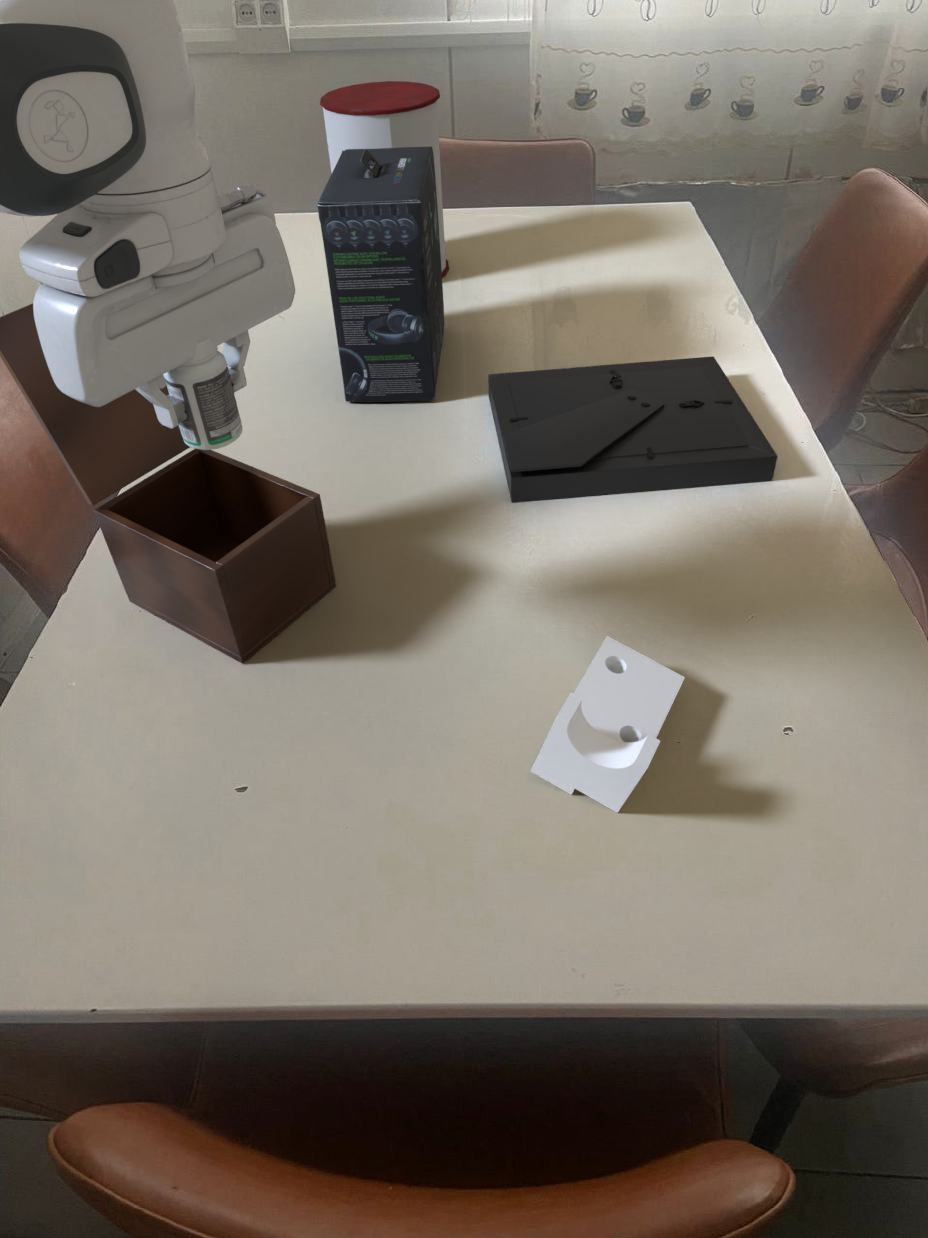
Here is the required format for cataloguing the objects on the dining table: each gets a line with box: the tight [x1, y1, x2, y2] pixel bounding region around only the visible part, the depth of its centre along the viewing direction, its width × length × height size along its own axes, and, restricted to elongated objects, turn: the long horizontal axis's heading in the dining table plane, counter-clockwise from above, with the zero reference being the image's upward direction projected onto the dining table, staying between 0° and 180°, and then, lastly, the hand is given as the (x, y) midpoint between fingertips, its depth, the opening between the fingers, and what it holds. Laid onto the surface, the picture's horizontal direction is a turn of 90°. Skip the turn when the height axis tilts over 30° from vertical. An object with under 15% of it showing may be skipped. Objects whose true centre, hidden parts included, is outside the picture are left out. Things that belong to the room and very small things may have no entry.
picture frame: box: [487, 355, 779, 503], centre depth 103 cm, size 23×4×28 cm
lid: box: [0, 302, 191, 507], centre depth 78 cm, size 16×13×1 cm
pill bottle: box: [163, 338, 243, 451], centre depth 68 cm, size 5×5×8 cm
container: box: [319, 80, 450, 278], centre depth 136 cm, size 17×17×25 cm
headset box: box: [316, 146, 445, 403], centre depth 111 cm, size 22×12×26 cm, turn 178°
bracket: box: [530, 635, 686, 814], centre depth 68 cm, size 13×7×8 cm, turn 152°
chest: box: [93, 448, 337, 664], centre depth 82 cm, size 16×13×11 cm
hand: (204, 405), depth 69 cm, fingers closed on pill bottle, 5 cm apart
